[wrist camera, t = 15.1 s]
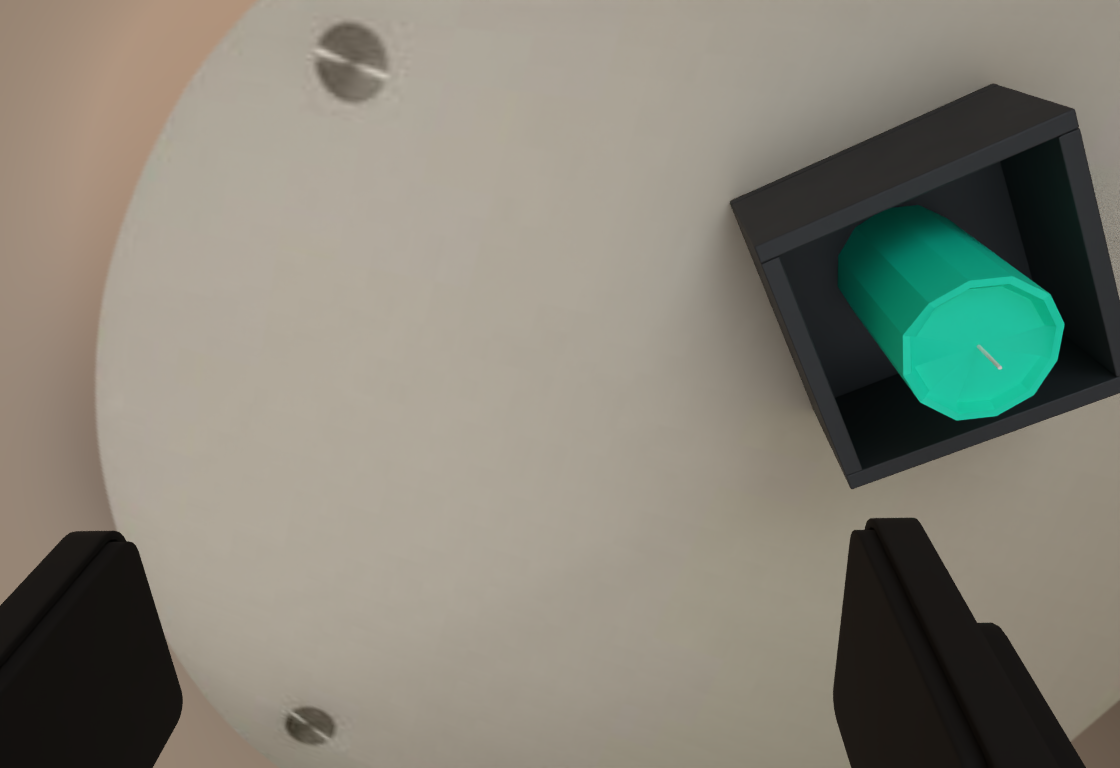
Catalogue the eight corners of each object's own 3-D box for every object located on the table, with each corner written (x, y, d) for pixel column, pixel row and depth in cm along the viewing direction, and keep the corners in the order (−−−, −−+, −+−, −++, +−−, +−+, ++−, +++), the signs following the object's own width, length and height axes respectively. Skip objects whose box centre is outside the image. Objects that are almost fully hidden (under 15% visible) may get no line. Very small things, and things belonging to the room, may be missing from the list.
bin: (729, 201, 42) (753, 247, 36) (993, 82, 40) (1075, 108, 33) (814, 413, 47) (851, 490, 40) (1056, 320, 44) (1140, 386, 38)
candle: (903, 178, 41) (1012, 255, 30) (989, 257, 42) (1122, 357, 32) (809, 273, 43) (880, 377, 32) (894, 345, 45) (989, 468, 34)
